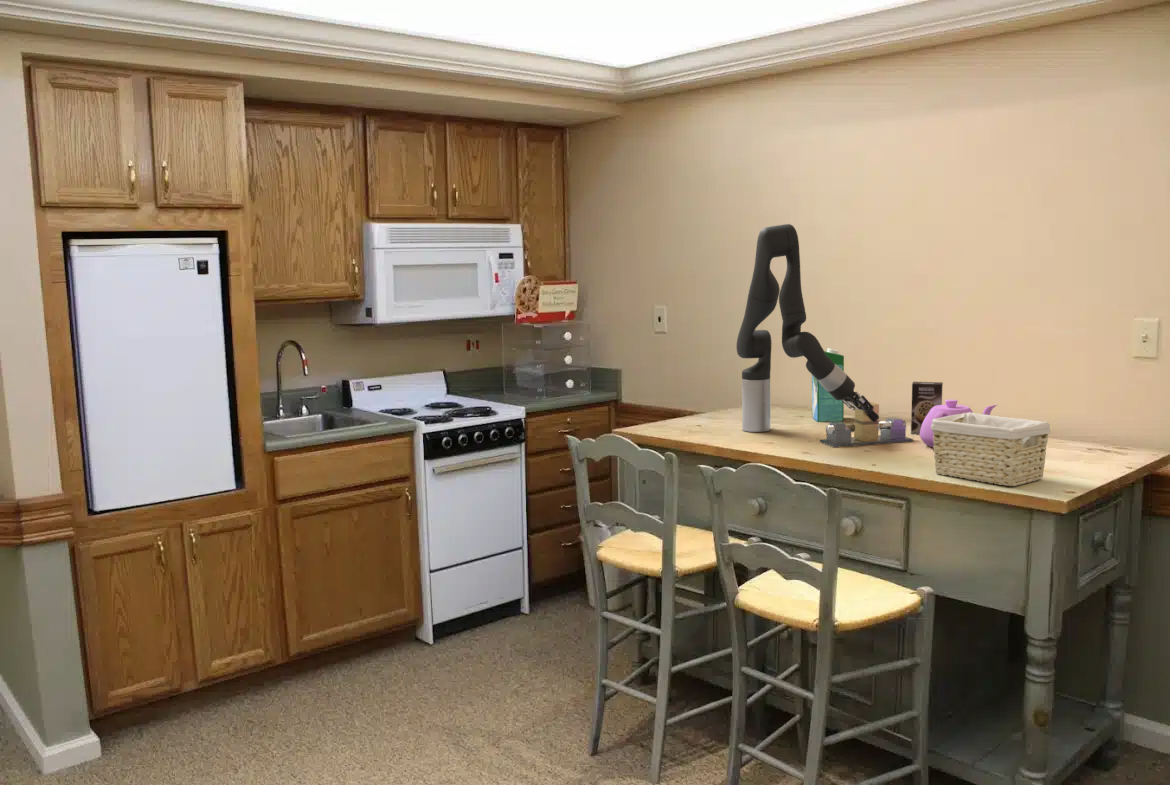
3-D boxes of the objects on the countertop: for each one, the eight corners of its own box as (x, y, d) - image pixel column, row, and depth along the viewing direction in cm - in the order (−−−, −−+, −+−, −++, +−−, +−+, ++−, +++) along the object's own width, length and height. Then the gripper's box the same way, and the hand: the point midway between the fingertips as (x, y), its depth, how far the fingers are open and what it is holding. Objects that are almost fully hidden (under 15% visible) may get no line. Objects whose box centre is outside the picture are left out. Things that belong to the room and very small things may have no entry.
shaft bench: (833, 447, 284) (833, 425, 283) (819, 442, 293) (819, 421, 292) (912, 441, 290) (912, 420, 289) (896, 436, 298) (897, 415, 297)
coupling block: (862, 441, 288) (863, 405, 286) (853, 438, 293) (854, 402, 291) (878, 440, 289) (879, 404, 287) (869, 437, 294) (870, 401, 293)
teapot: (982, 457, 264) (983, 408, 262) (906, 449, 278) (906, 402, 277) (1009, 445, 280) (1011, 398, 278) (937, 437, 294) (937, 393, 293)
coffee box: (910, 434, 302) (911, 383, 300) (911, 430, 308) (912, 381, 305) (941, 435, 298) (942, 384, 296) (941, 431, 304) (942, 381, 302)
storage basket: (927, 474, 246) (928, 417, 245) (965, 465, 255) (966, 410, 253) (1013, 490, 227) (1014, 429, 225) (1051, 480, 236) (1053, 421, 234)
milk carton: (843, 421, 329) (844, 349, 326) (817, 421, 330) (817, 349, 326) (837, 417, 338) (837, 346, 335) (811, 417, 338) (811, 347, 335)
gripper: (855, 374, 280) (891, 412, 284) (832, 369, 294) (867, 405, 298) (838, 393, 279) (875, 431, 283) (816, 387, 293) (851, 423, 297)
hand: (871, 417), depth 291 cm, fingers open, 6 cm apart
